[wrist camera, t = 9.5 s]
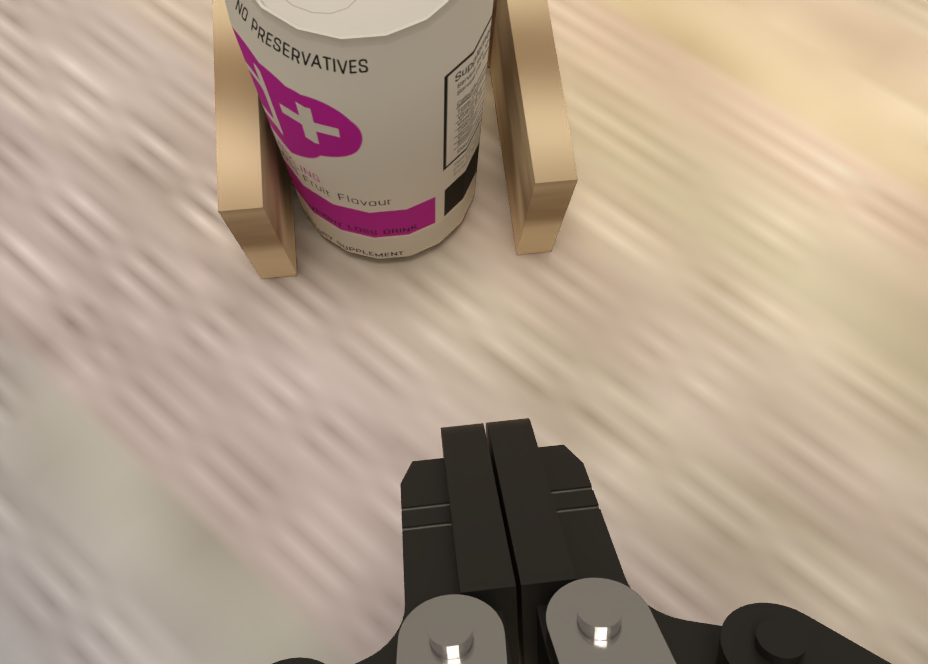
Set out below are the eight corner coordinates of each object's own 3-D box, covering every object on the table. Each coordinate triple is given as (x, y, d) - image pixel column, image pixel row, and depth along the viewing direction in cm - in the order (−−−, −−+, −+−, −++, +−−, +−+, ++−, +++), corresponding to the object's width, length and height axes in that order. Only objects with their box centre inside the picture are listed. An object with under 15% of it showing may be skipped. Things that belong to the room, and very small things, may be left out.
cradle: (551, 251, 35) (578, 179, 28) (261, 278, 34) (218, 211, 28) (517, 37, 38) (534, -73, 32) (251, 57, 38) (211, -51, 31)
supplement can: (366, 298, 34) (314, 112, 20) (266, 164, 36) (151, -98, 22) (509, 202, 36) (557, -36, 21) (407, 77, 38) (388, -220, 23)
